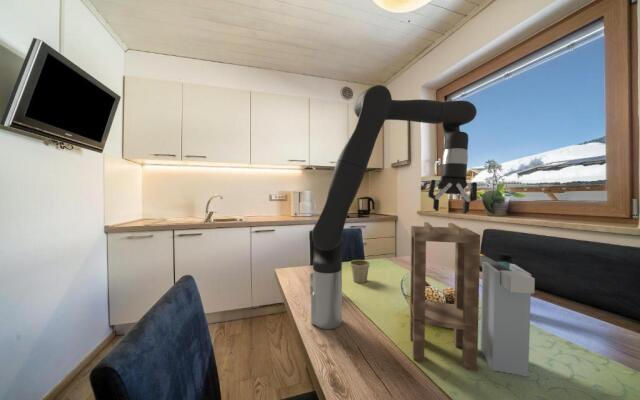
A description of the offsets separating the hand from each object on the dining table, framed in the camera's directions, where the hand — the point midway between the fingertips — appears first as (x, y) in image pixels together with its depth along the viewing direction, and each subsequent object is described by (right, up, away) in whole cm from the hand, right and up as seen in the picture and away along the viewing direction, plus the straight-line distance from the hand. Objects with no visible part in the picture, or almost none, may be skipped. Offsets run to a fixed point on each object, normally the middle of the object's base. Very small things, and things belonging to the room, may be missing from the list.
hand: (450, 212), depth 83 cm
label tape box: (-43, -35, +20) cm, 59 cm away
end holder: (+1, -36, -22) cm, 42 cm away
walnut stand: (-12, -36, -18) cm, 42 cm away
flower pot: (-25, -34, +33) cm, 53 cm away
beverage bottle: (+21, -35, +4) cm, 41 cm away
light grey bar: (+1, -14, -21) cm, 25 cm away
